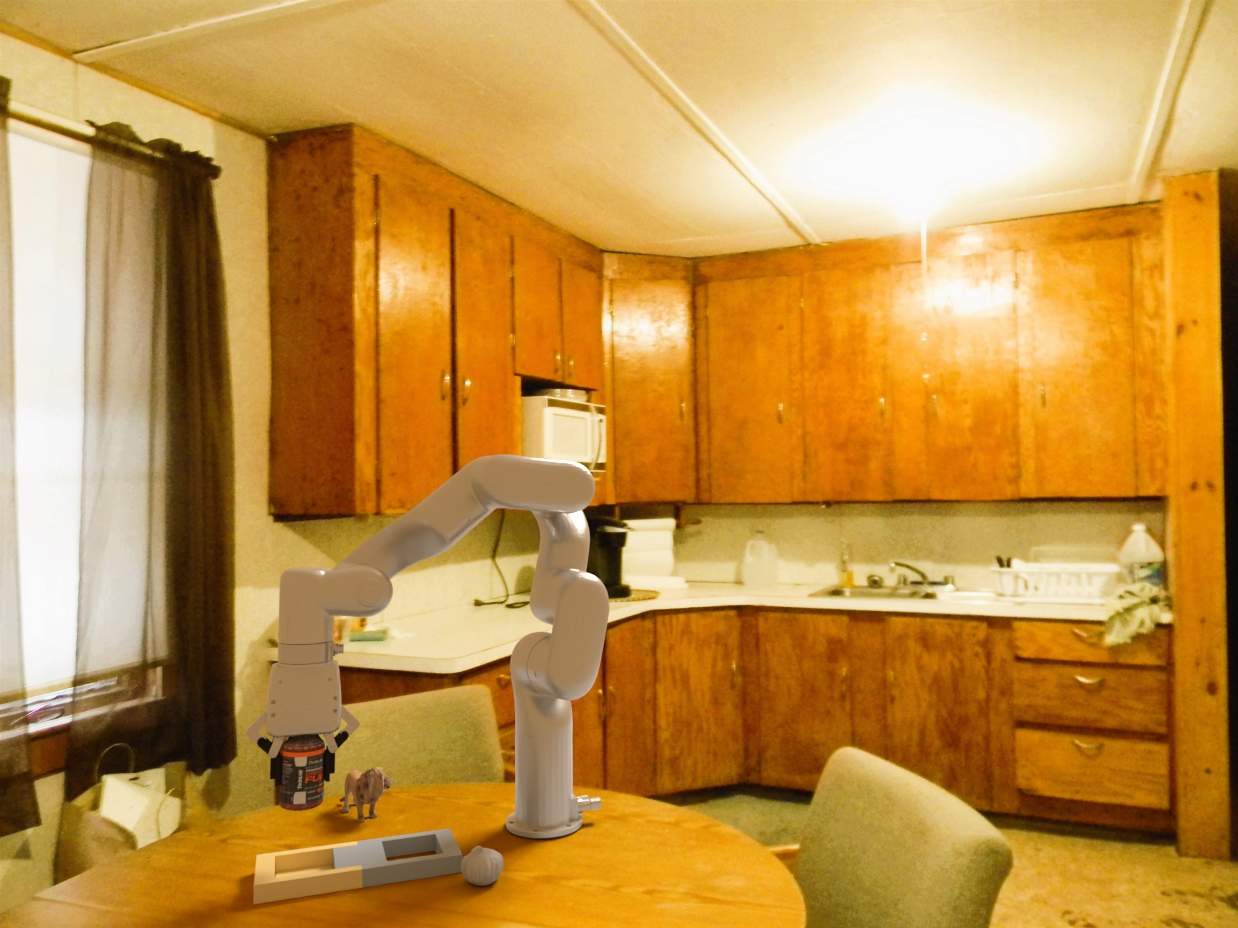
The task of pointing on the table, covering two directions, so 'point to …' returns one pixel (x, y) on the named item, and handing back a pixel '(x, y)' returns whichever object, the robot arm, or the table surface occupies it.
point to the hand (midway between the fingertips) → (302, 780)
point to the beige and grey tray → (354, 865)
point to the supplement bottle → (302, 772)
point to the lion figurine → (365, 790)
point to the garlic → (482, 866)
